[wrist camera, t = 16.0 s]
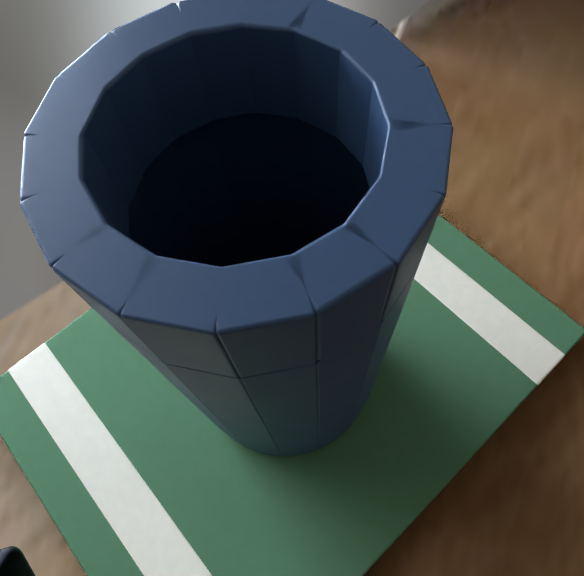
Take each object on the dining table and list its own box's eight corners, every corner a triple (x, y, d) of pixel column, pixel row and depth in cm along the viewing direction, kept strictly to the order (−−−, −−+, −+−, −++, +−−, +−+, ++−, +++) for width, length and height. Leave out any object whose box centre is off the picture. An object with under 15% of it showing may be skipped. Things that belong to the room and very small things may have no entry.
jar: (256, 494, 18) (128, 432, 6) (173, 345, 21) (-35, 93, 9) (405, 391, 20) (548, 171, 7) (309, 264, 22) (296, -55, 10)
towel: (204, 743, 16) (197, 757, 15) (-11, 400, 21) (-26, 394, 20) (577, 339, 21) (588, 330, 20) (329, 141, 26) (329, 127, 25)
